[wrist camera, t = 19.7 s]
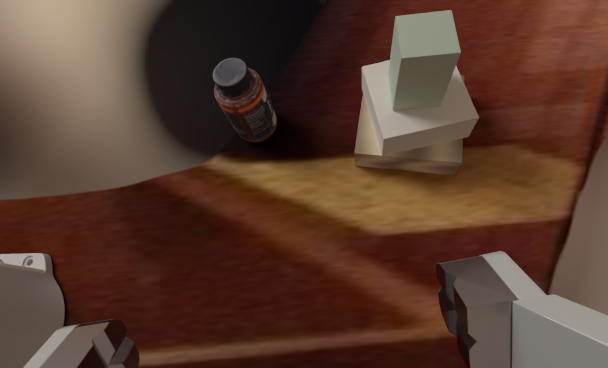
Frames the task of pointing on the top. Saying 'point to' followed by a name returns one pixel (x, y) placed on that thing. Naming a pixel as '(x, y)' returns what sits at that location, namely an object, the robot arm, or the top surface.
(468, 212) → the top surface
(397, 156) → the maple base slab
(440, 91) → the sage block
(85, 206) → the top surface
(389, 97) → the white top slab
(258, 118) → the supplement bottle
